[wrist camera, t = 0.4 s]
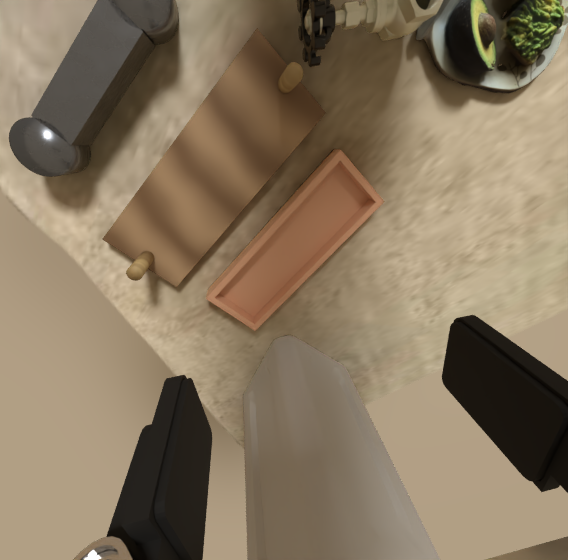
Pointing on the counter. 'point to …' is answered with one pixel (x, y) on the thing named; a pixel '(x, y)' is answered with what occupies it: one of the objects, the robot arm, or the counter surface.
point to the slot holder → (296, 241)
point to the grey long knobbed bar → (91, 83)
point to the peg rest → (216, 163)
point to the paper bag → (320, 467)
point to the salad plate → (495, 40)
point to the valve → (360, 20)
